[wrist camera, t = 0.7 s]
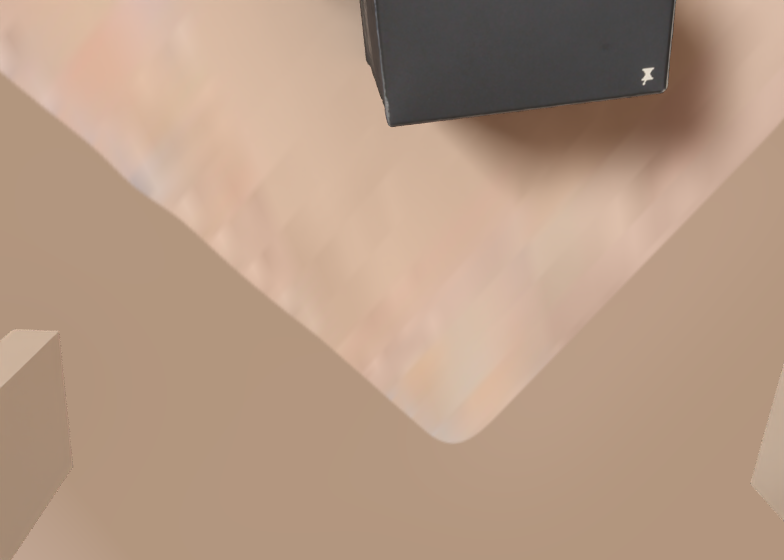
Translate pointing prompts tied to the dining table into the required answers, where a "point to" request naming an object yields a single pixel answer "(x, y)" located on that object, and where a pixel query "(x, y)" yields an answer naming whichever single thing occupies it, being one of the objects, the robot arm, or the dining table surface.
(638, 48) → the small box
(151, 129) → the dining table surface
